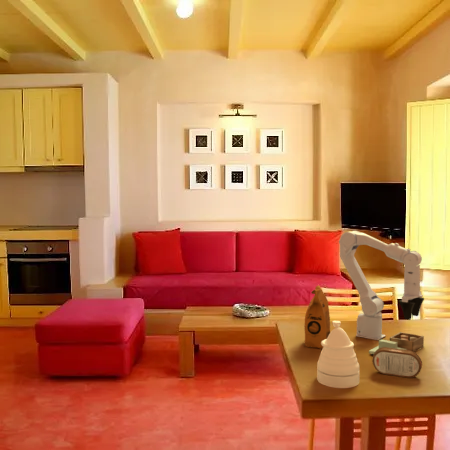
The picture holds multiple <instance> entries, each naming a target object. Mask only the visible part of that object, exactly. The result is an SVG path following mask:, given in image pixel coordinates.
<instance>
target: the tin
mask: <svg viewBox="0 0 450 450" xmlns="http://www.w3.org/2000/svg"><path fill="white" fill-rule="evenodd" d="M372 355H373V356H372V360H371V362H372V365H373V368H374V369H375V370H376V371H377V372H378V373H380V374H382V375H388V376H394V377H402V378H406V377H408V379H411V378H412V379H413V378H415V377H417V376H418V375H419V374H420V373H421V371H422V368H423V360H422V359H421V357H420V355H419V354H418V353H416V352H413V351H409V350H402V349H394V348H387V347H382V348H379V349H377V350H376V351H375V353H374V354H372Z"/></svg>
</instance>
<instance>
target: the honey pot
mask: <svg viewBox="0 0 450 450" xmlns="http://www.w3.org/2000/svg"><path fill="white" fill-rule="evenodd" d="M341 324H342V323H341V321H340V320H332V325H333V327H334V328H333V329H332V330H330V334H329V336H328V338H327V339H325V340H323V341H322V342H321V345H322V346H323V348H321V349H322V350H321V352H320V355H319V357H318V361H317V363H316V367H317V368H316V375H317V376H316V380H317V381H318V383H319V384H321V385H324V386H326V387H330V388H336V389H349V388H354V387H356V386H358V385H359V384H360V363H359V362H358V358H357V354H356V352H355V350H354V349H355V347H354V346H355V344H354V342H353V341H351V339H350V337H349V335H348V334H347V332H346V331H345V330H344V329H343V328H342V327H340V326H341Z"/></svg>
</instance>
